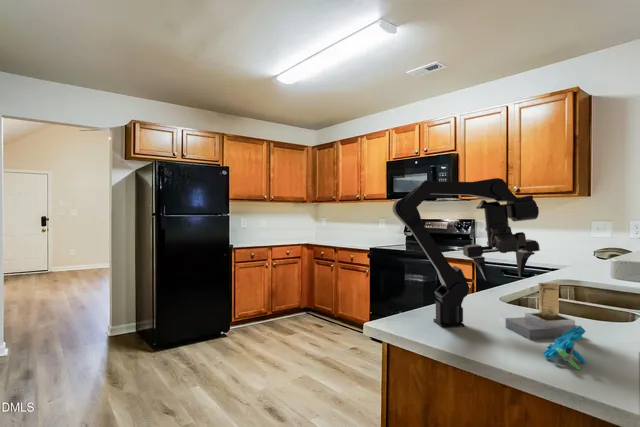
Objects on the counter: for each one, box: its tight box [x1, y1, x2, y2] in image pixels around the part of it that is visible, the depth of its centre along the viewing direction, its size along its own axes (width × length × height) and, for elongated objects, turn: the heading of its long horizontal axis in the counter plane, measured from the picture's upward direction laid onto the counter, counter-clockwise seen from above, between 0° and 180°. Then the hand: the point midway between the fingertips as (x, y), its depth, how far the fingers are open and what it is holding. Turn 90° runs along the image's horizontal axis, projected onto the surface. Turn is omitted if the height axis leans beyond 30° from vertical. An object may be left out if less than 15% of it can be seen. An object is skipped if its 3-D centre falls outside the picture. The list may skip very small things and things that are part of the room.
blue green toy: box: [542, 325, 586, 371], centre depth 80 cm, size 11×6×10 cm
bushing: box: [538, 282, 560, 321], centre depth 99 cm, size 5×5×12 cm
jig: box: [505, 311, 583, 340], centre depth 99 cm, size 14×10×4 cm
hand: (503, 278), depth 106 cm, fingers open, 9 cm apart
